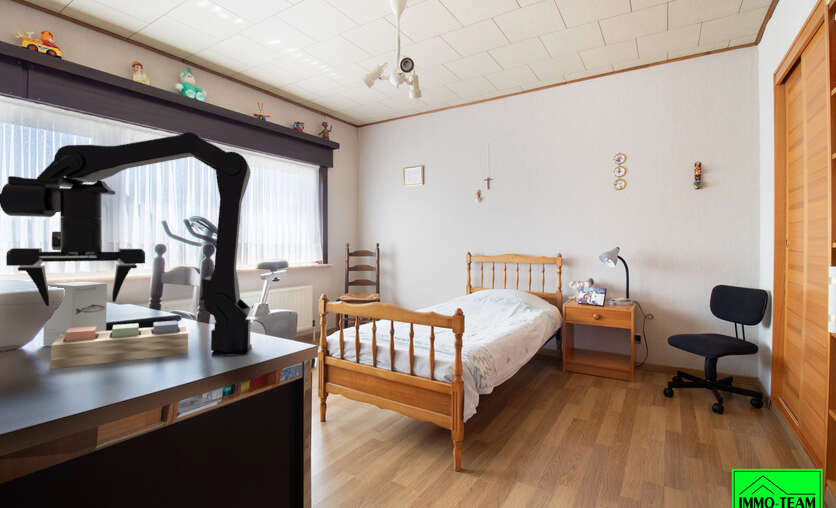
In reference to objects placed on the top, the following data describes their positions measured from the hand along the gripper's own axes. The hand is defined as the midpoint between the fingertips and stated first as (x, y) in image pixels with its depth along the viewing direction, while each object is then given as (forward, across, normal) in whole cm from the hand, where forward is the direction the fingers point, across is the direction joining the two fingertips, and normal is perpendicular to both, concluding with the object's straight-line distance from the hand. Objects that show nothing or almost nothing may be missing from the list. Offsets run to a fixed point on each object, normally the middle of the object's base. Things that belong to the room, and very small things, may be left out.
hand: (82, 303), depth 73 cm
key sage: (+7, -6, +1) cm, 10 cm away
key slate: (+7, -13, +1) cm, 15 cm away
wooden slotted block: (+10, -6, +1) cm, 12 cm away
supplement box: (+10, +1, -14) cm, 18 cm away
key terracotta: (+7, 0, 0) cm, 7 cm away
